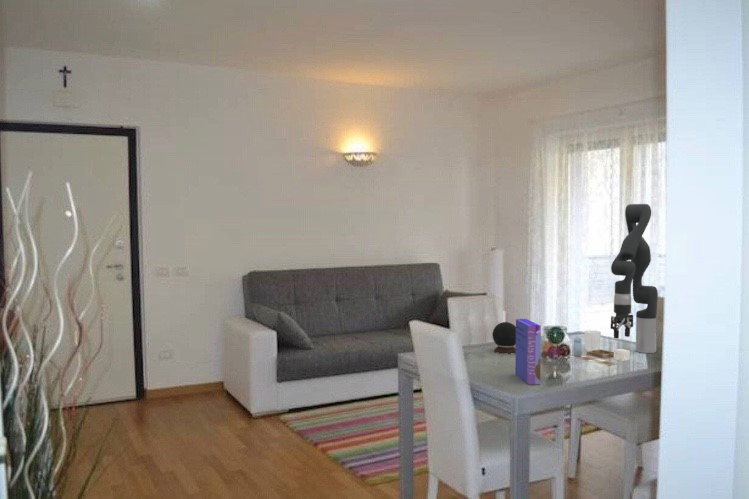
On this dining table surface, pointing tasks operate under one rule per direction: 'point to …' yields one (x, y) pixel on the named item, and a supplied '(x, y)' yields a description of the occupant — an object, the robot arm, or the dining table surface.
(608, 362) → the board
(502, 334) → the black orb on stand
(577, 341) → the pale blue capsule
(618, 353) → the die
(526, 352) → the cereal box
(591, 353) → the tray
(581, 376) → the dining table surface
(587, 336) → the white cup
